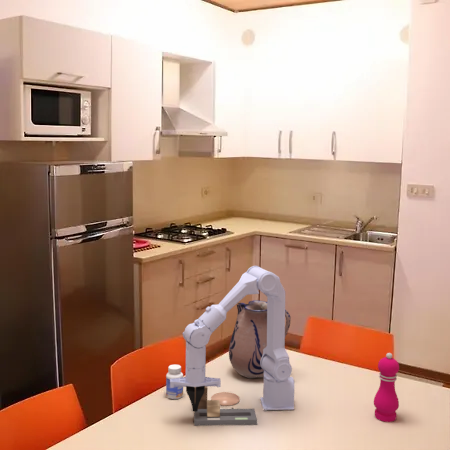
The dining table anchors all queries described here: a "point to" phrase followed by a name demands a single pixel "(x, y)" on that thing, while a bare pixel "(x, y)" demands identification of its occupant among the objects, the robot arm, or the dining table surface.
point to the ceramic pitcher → (250, 338)
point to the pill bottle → (172, 374)
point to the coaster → (226, 398)
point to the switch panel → (226, 417)
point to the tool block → (203, 399)
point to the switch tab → (213, 408)
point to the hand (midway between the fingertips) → (195, 409)
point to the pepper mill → (387, 390)
